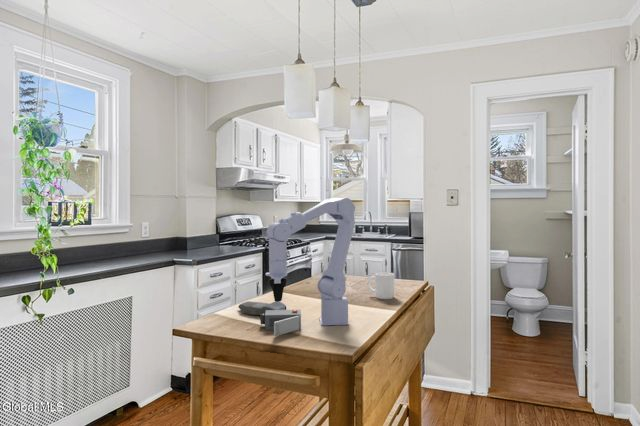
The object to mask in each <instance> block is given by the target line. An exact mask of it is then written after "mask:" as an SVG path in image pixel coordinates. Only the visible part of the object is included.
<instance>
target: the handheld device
mask: <svg viewBox="0 0 640 426" xmlns="http://www.w3.org/2000/svg"><path fill="white" fill-rule="evenodd" d="M238 309H239V310H240V313H242V314H245V315H255V316H257V315H258V316H261V314H265V312H266V310H287V305H286V304H285V303H284V302H282V301H274V302H271V303H270V302H269V303H267V302H260V301H245V302H242V303H239V305H238Z"/></svg>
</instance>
